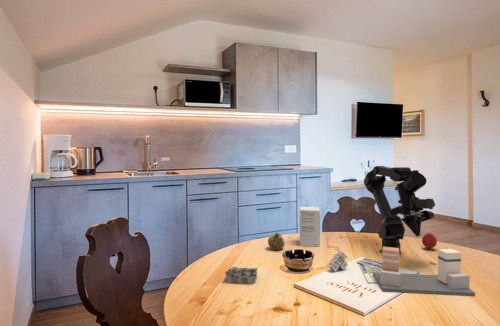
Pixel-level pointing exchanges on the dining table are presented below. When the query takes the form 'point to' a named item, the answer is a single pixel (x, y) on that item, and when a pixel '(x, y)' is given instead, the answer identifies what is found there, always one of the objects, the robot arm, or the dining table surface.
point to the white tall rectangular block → (448, 263)
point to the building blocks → (338, 262)
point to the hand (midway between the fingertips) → (418, 236)
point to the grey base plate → (423, 283)
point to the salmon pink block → (390, 259)
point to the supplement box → (310, 226)
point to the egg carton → (236, 273)
